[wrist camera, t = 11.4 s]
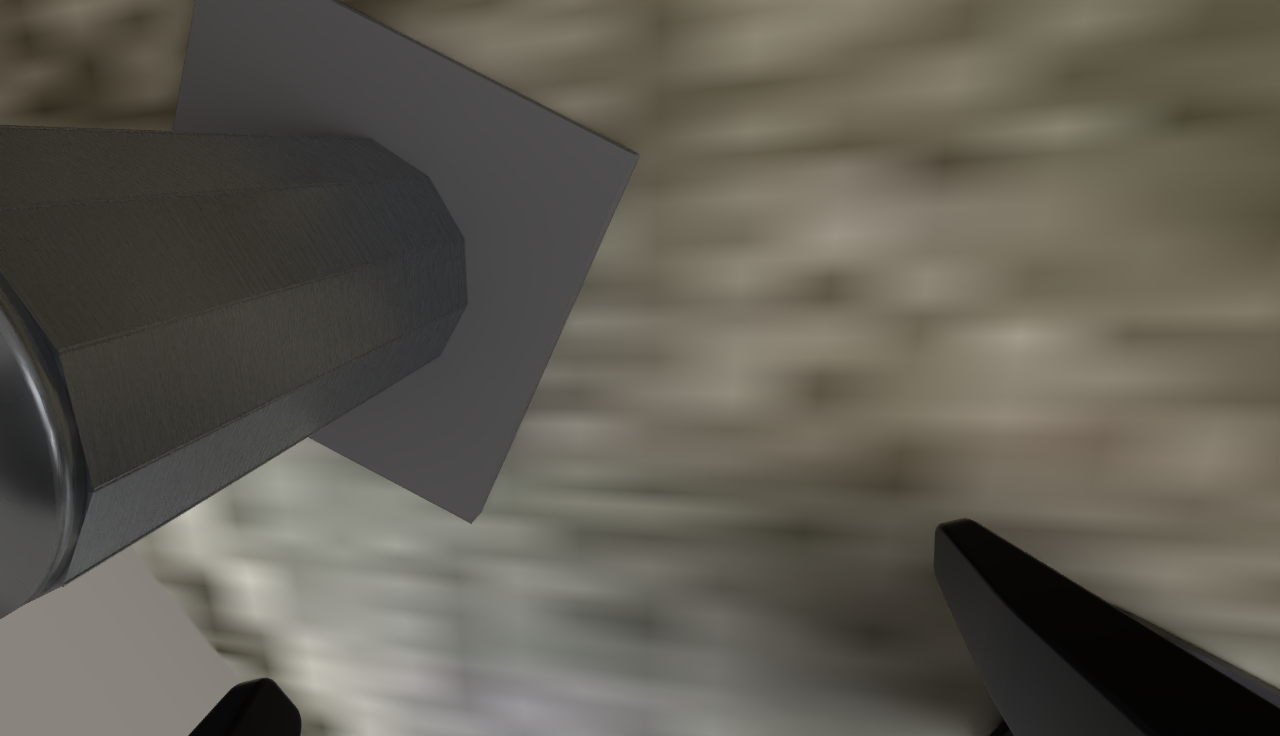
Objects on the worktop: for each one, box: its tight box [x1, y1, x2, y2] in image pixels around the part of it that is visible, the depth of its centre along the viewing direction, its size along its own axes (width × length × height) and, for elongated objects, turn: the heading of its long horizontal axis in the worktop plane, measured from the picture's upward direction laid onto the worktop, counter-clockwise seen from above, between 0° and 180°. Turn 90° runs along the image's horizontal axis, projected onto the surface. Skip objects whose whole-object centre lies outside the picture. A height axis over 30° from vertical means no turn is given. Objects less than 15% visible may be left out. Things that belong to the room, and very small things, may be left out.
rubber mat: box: [172, 0, 639, 524], centre depth 19 cm, size 13×13×3 cm
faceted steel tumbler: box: [0, 125, 468, 619], centre depth 14 cm, size 7×7×12 cm
